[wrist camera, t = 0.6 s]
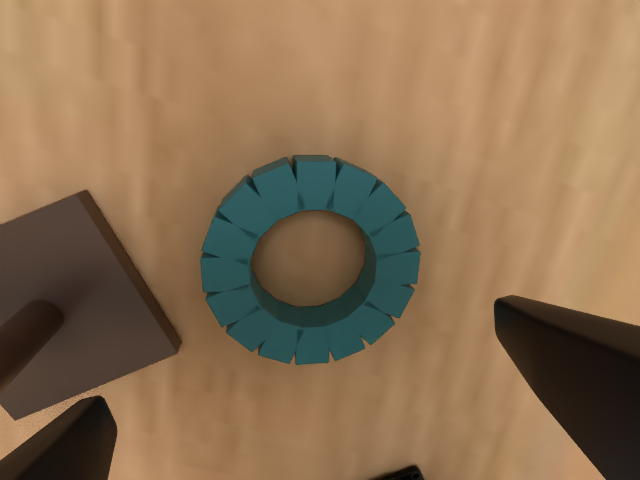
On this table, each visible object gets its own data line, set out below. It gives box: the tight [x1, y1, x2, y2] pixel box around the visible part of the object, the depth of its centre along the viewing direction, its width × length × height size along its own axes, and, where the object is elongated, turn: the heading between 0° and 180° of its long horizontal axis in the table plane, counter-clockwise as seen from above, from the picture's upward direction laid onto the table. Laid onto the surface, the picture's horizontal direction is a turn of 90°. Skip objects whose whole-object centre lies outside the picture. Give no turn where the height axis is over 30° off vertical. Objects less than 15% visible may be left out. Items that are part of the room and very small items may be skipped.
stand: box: [0, 190, 181, 421], centre depth 18 cm, size 10×10×8 cm
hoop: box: [200, 155, 420, 365], centre depth 21 cm, size 11×11×2 cm
